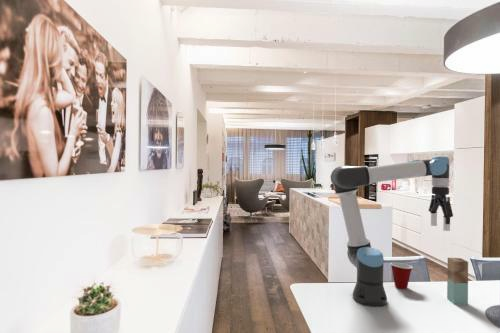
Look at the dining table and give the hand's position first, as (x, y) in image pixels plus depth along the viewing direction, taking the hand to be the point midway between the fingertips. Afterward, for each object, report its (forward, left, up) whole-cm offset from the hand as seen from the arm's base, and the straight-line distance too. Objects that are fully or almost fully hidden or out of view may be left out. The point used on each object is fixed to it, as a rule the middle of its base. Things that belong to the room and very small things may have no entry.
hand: (439, 228), depth 155 cm
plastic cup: (-17, +4, -33) cm, 37 cm away
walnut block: (+3, -11, -23) cm, 25 cm away
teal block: (+3, -11, -33) cm, 35 cm away
